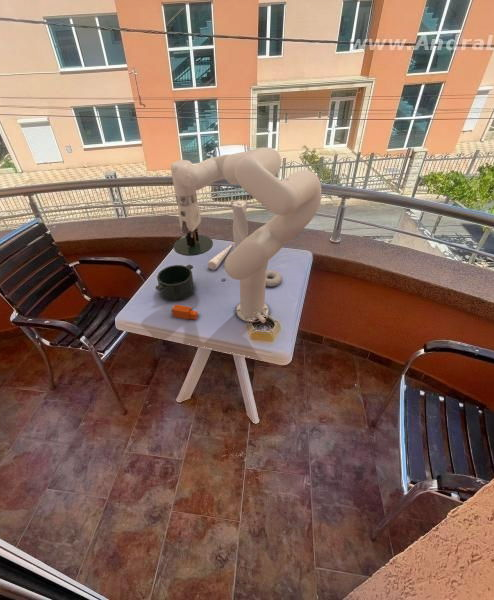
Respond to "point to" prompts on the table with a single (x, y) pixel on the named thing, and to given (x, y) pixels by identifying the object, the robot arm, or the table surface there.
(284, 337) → the table surface
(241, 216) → the grater
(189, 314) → the orange bottle
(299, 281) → the table surface
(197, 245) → the pot lid
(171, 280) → the pot
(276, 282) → the donut
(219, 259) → the unicorn horn
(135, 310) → the table surface
